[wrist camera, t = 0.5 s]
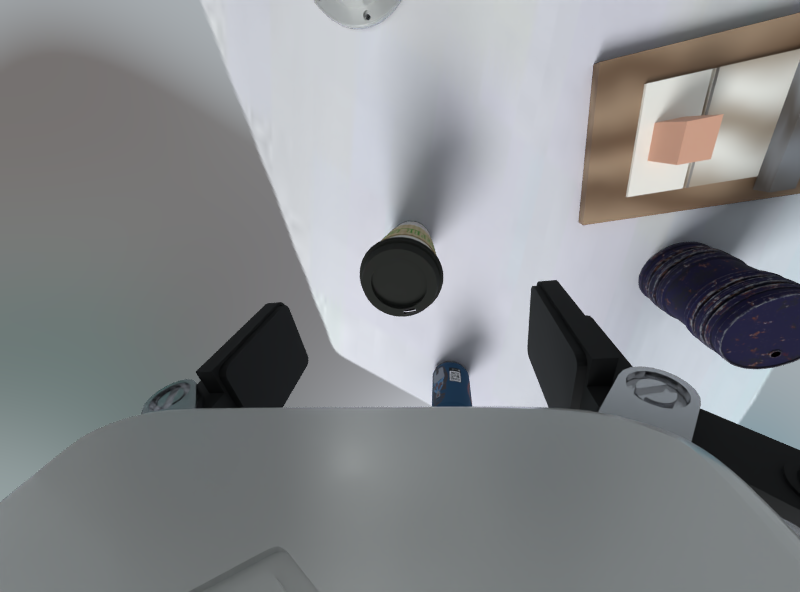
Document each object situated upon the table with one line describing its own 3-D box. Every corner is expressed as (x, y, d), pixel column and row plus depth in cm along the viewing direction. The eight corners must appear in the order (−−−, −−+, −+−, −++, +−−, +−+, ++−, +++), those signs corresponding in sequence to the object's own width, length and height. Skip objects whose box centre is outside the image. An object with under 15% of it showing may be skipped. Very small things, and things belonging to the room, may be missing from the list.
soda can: (463, 387, 59) (468, 441, 49) (430, 380, 59) (427, 433, 49) (472, 362, 56) (479, 415, 45) (436, 355, 56) (435, 406, 46)
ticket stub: (644, 84, 31) (679, 75, 27) (709, 69, 30) (758, 58, 26) (625, 196, 37) (652, 205, 32) (680, 187, 36) (716, 196, 31)
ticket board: (593, 64, 32) (611, 57, 29) (871, -4, 28) (931, -23, 24) (578, 222, 41) (591, 230, 37) (789, 190, 36) (825, 196, 33)
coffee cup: (431, 199, 42) (428, 230, 29) (449, 260, 46) (453, 310, 33) (370, 220, 44) (341, 257, 31) (392, 276, 49) (375, 328, 36)
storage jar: (633, 256, 42) (718, 312, 29) (716, 229, 39) (852, 277, 26) (641, 310, 46) (719, 379, 33) (717, 288, 43) (835, 356, 30)
